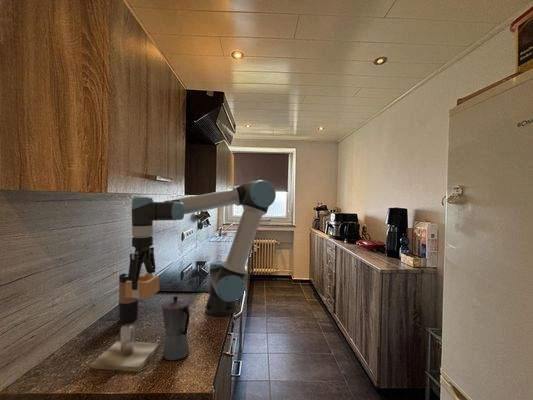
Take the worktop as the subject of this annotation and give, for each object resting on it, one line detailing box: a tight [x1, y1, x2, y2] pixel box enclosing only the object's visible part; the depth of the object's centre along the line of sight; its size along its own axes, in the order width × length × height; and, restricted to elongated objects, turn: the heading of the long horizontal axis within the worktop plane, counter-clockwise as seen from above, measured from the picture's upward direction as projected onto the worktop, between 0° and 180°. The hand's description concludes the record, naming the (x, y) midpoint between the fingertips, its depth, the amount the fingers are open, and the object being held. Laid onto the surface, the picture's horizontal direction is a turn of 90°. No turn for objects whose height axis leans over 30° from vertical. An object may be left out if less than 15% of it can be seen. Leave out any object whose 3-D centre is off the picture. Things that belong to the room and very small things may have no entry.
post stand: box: [90, 323, 161, 373], centre depth 96 cm, size 14×16×10 cm
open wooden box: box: [125, 274, 160, 299], centre depth 111 cm, size 9×9×6 cm
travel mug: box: [118, 273, 139, 324], centre depth 124 cm, size 8×8×20 cm
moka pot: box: [161, 296, 190, 361], centre depth 98 cm, size 10×15×20 cm, turn 51°
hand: (142, 293), depth 111 cm, fingers closed on open wooden box, 9 cm apart
